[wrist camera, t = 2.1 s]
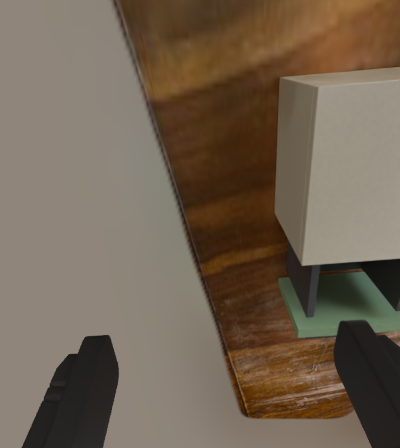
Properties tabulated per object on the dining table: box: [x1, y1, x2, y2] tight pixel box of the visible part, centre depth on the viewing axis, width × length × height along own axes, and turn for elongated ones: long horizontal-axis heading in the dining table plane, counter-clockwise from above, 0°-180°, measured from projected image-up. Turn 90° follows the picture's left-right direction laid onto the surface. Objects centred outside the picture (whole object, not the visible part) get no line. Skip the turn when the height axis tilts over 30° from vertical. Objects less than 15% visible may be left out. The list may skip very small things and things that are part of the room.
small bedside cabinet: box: [275, 67, 400, 266], centre depth 29 cm, size 15×13×11 cm
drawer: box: [278, 240, 400, 339], centre depth 35 cm, size 18×12×9 cm, turn 4°
